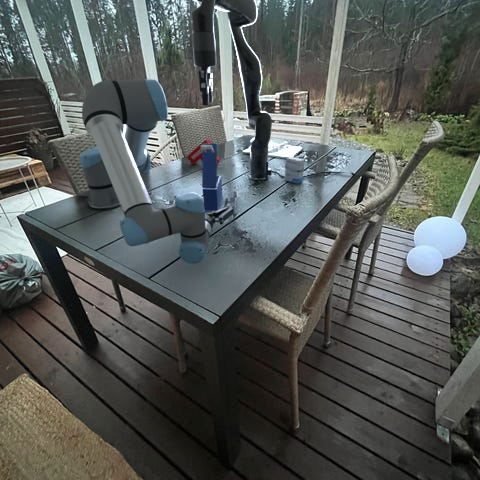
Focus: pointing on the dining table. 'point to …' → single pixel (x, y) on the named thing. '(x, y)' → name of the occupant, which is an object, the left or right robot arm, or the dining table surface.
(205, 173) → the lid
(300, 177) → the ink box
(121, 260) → the dining table surface
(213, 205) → the chest
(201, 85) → the right robot arm
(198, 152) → the toy gun
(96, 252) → the dining table surface
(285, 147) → the relief map
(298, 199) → the dining table surface
